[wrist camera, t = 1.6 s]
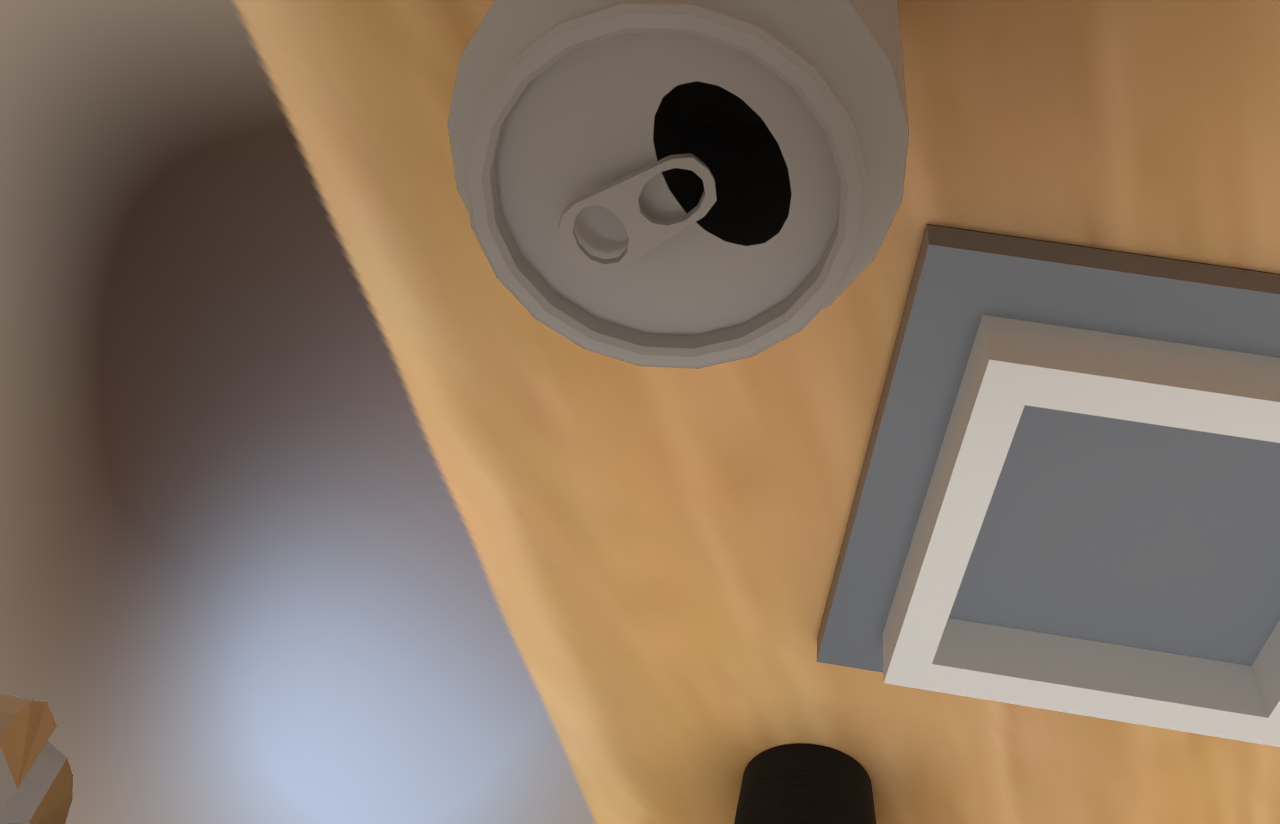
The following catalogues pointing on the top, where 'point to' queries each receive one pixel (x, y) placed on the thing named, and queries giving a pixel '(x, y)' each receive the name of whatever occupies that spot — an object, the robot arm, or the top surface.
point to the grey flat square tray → (1074, 489)
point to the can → (680, 165)
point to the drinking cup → (805, 788)
